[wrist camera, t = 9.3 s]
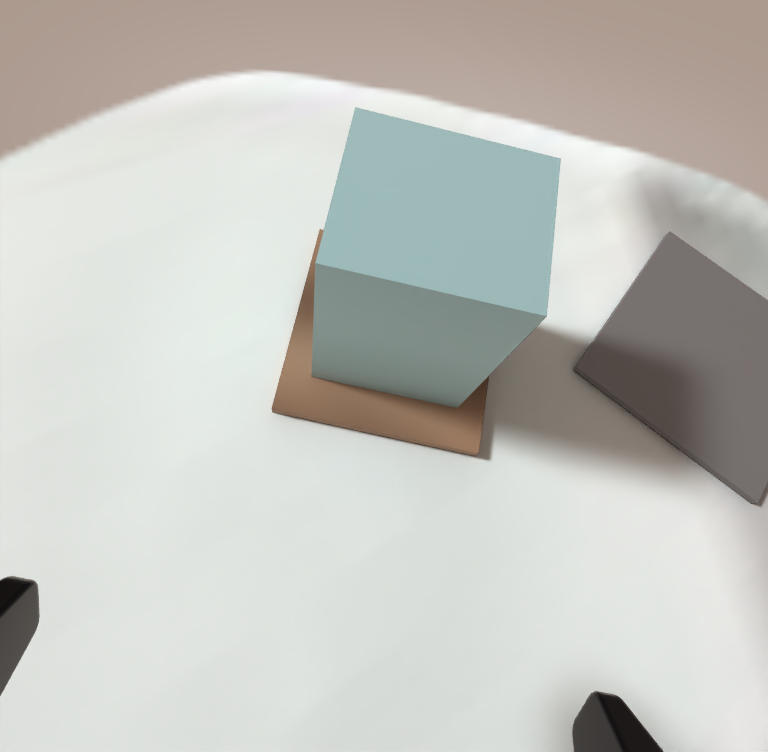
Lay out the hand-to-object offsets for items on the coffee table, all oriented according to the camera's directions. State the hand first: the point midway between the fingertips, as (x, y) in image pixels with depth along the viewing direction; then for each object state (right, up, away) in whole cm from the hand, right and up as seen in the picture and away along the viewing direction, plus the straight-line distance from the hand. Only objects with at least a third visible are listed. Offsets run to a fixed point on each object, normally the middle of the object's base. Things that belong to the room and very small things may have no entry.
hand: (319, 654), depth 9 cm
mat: (+17, +5, +19) cm, 26 cm away
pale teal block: (+2, +6, +16) cm, 17 cm away
